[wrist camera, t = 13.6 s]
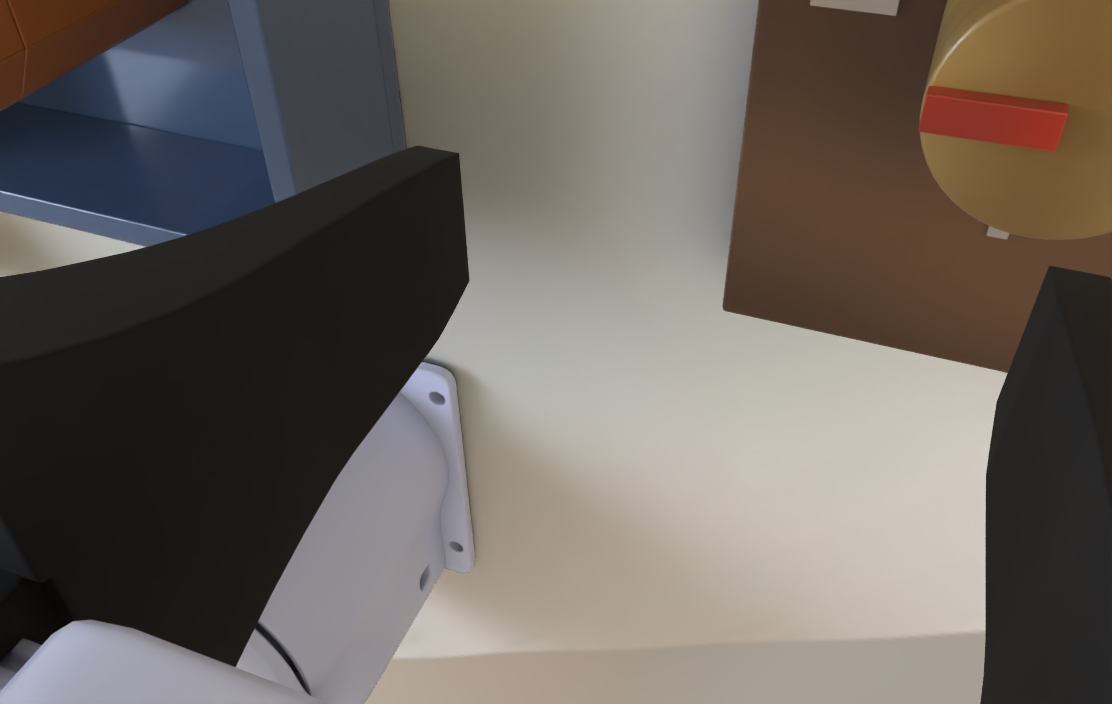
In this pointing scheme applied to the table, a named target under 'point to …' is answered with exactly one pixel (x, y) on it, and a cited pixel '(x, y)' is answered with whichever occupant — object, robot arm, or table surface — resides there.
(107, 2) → the jar
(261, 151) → the blue open tray
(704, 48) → the table surface
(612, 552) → the table surface
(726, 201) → the table surface
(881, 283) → the panel
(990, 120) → the tap knob
